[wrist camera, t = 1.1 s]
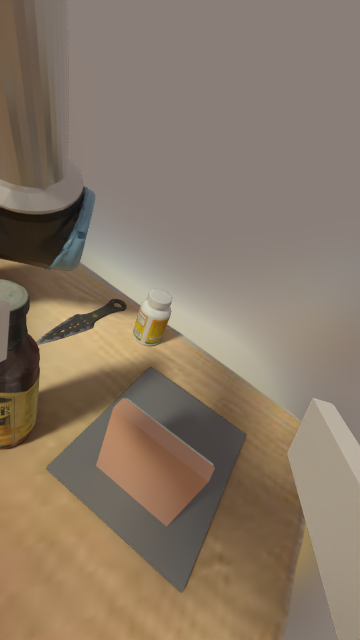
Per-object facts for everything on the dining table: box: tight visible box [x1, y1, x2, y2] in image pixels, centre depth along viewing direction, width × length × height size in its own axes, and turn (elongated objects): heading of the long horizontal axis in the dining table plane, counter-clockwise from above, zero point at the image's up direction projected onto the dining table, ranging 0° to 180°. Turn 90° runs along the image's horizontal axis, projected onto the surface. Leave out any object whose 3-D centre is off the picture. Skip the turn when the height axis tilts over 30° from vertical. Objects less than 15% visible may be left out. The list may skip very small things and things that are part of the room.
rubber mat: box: [47, 367, 246, 592], centre depth 36 cm, size 20×18×1 cm
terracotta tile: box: [96, 398, 215, 527], centre depth 28 cm, size 2×10×12 cm, turn 59°
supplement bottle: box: [133, 289, 172, 346], centre depth 49 cm, size 5×5×10 cm
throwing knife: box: [36, 299, 126, 345], centre depth 49 cm, size 4×20×1 cm, turn 145°
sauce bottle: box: [0, 279, 40, 449], centre depth 26 cm, size 7×6×20 cm
